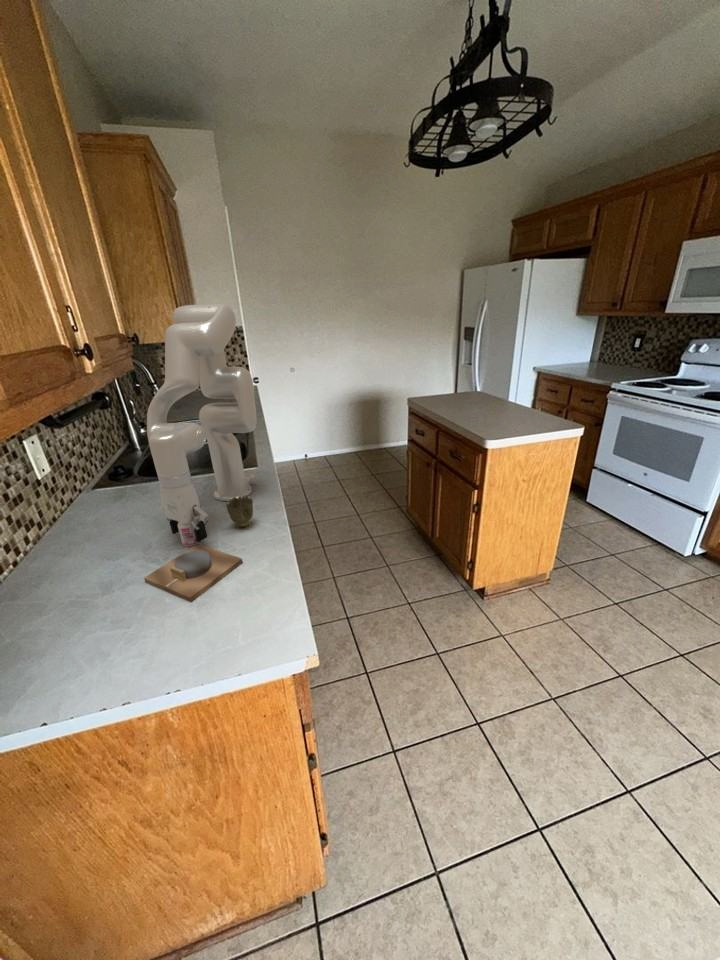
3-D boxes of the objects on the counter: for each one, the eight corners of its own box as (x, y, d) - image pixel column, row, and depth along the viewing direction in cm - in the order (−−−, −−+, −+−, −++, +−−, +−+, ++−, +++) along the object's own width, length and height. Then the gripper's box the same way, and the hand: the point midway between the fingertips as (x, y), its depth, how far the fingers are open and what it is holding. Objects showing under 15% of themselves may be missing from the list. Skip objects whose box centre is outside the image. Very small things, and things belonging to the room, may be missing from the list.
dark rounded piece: (249, 533, 112) (244, 508, 109) (225, 531, 114) (220, 506, 111) (260, 520, 119) (256, 496, 116) (238, 518, 121) (233, 495, 117)
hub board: (198, 547, 107) (195, 535, 105) (242, 562, 100) (240, 550, 98) (145, 582, 94) (141, 569, 92) (191, 602, 87) (187, 588, 85)
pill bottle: (184, 549, 106) (177, 522, 103) (180, 541, 110) (173, 515, 106) (202, 542, 109) (196, 516, 105) (198, 535, 112) (191, 509, 109)
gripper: (140, 479, 102) (157, 535, 109) (186, 490, 95) (201, 550, 102) (165, 468, 108) (180, 522, 115) (210, 478, 100) (222, 536, 107)
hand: (189, 535), depth 108 cm, fingers open, 9 cm apart
